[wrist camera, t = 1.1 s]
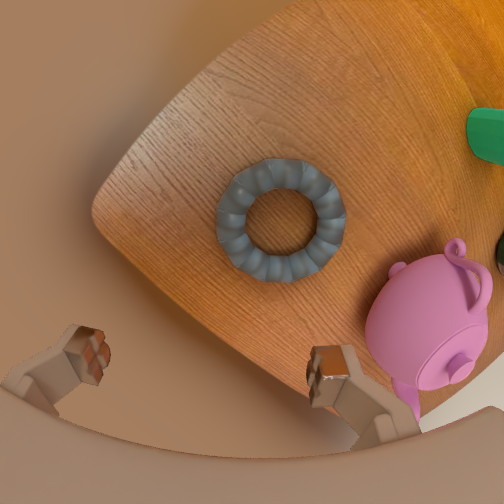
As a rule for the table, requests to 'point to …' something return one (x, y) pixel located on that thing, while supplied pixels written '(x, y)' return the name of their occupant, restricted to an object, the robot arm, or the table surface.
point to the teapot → (430, 322)
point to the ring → (265, 180)
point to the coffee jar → (501, 255)
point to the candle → (487, 134)
